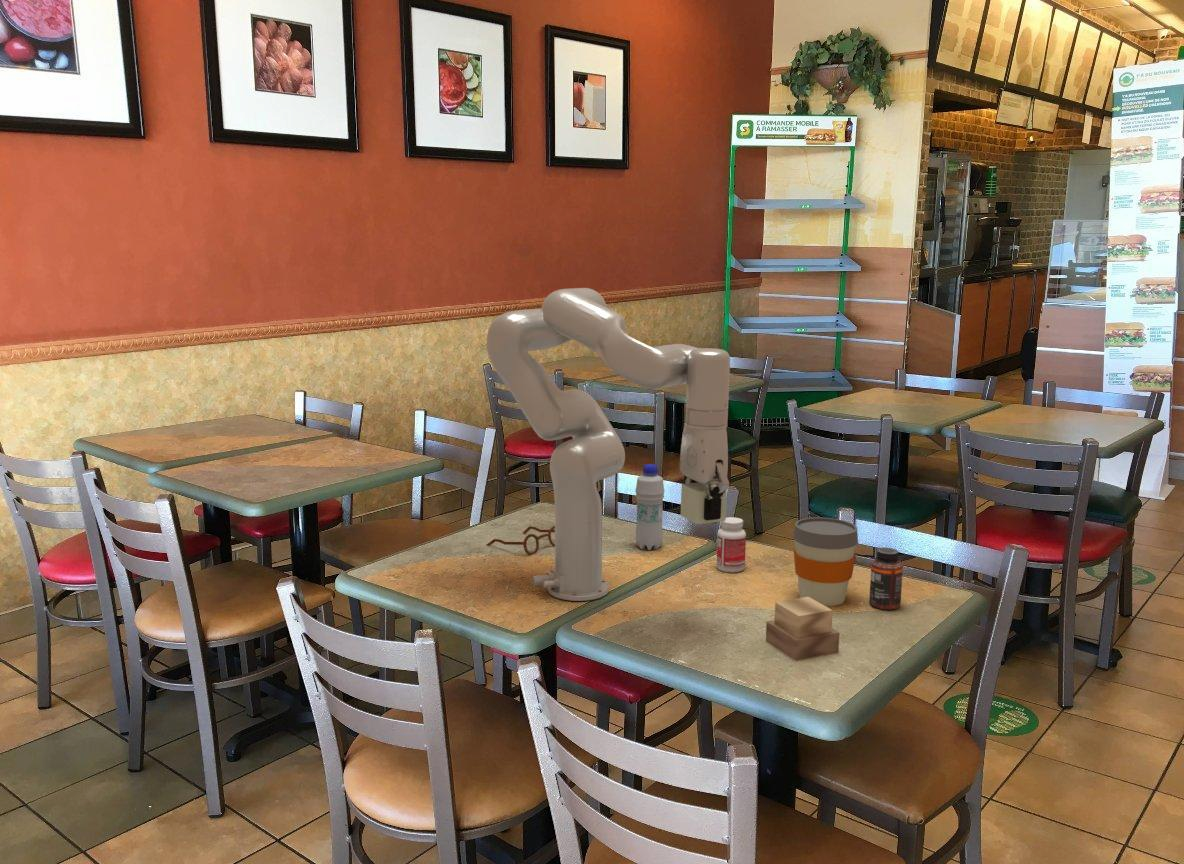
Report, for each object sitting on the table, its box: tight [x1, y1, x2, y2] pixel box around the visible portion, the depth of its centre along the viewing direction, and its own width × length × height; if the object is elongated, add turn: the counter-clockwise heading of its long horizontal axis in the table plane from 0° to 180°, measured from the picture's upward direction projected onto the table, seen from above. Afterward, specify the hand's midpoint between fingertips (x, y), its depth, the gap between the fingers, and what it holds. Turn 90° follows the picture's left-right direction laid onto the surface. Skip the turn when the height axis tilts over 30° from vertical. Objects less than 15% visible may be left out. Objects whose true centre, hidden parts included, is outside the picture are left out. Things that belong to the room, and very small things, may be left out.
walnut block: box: [765, 619, 840, 661], centre depth 166 cm, size 9×9×4 cm
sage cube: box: [680, 482, 728, 525], centre depth 172 cm, size 6×6×6 cm
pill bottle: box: [716, 516, 747, 573], centre depth 205 cm, size 6×6×11 cm
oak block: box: [774, 597, 833, 638], centre depth 165 cm, size 7×7×4 cm
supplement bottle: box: [868, 547, 904, 611], centre depth 184 cm, size 6×6×11 cm
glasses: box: [485, 525, 555, 556], centre depth 222 cm, size 13×13×5 cm
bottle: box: [635, 463, 665, 551], centre depth 218 cm, size 7×7×20 cm
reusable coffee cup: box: [792, 517, 859, 607], centre depth 188 cm, size 13×13×15 cm
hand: (702, 513), depth 172 cm, fingers closed on sage cube, 6 cm apart
